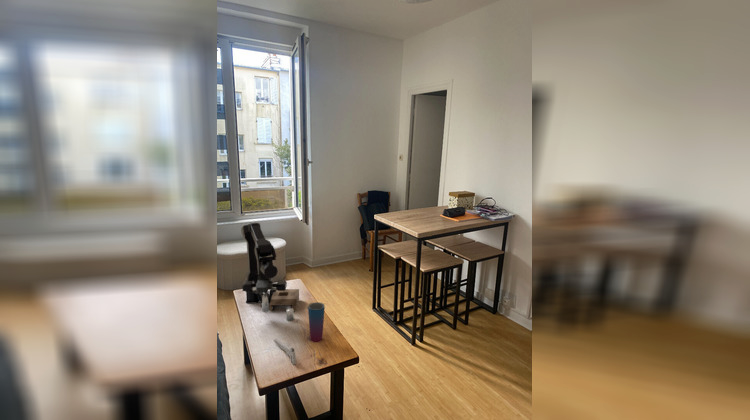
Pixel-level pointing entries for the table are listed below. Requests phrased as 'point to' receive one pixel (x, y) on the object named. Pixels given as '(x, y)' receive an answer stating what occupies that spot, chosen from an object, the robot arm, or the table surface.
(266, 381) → the table surface
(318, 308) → the cup
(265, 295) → the long pin
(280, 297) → the board
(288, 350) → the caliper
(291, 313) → the short pin
